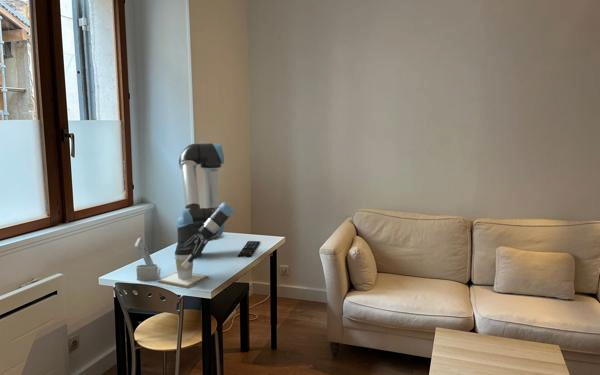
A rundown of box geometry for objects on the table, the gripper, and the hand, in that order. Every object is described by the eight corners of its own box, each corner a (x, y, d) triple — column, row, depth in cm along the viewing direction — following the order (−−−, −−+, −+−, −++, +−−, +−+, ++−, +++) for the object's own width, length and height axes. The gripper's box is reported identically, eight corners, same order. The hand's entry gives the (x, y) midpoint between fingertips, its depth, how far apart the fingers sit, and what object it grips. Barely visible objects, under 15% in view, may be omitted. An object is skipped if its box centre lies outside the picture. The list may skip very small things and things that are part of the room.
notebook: (157, 282, 217) (157, 280, 217) (179, 272, 231) (179, 270, 231) (187, 288, 209) (187, 285, 209) (208, 277, 224) (208, 275, 224)
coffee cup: (177, 281, 215) (176, 251, 213) (173, 275, 223) (172, 246, 221) (196, 278, 219) (195, 248, 217) (191, 272, 227) (191, 244, 225)
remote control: (237, 258, 258) (237, 254, 258) (248, 243, 290) (248, 240, 290) (250, 258, 258) (250, 255, 258) (259, 243, 289) (259, 240, 289)
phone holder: (157, 279, 221) (156, 243, 219) (135, 280, 219) (134, 244, 216) (160, 268, 238) (158, 235, 235) (140, 269, 236) (138, 236, 233)
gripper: (222, 239, 215) (192, 274, 210) (205, 228, 236) (178, 260, 231) (211, 230, 212) (181, 265, 206) (195, 220, 233) (167, 252, 228)
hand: (179, 263), depth 219 cm, fingers open, 13 cm apart
